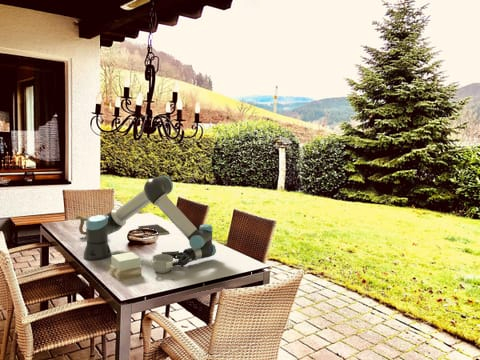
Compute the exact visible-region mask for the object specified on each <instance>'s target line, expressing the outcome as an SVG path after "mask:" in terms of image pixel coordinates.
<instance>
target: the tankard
mask: <svg viewBox="0 0 480 360" xmlns="http://www.w3.org/2000/svg"><path fill="white" fill-rule="evenodd" d="M90 217H91V216H89V217H86V218H85V217H83V216H81V215H77V216H75V219H76V220H80V221H79V222H80V223H79V227H78V231H79V233H80V235H83V236H84V238H85V239H86V238H87V228H86V229H85V231H84V230H83V228H84V224H85V225H86V224H87V219H88V218H90Z"/></svg>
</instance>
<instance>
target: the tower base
mask: <svg viewBox="0 0 480 360" xmlns="http://www.w3.org/2000/svg"><path fill="white" fill-rule="evenodd" d="M109 274H110V275H111V276H113V277H114V278H115V279H116V280H117V281H123V280H127V279H132V278H135V277H136V278H137V277H139V276H142V266H141V265H140V267H137V268H132V269H127V270H122V271H119V270H118V269H116V268H115V267H114V266H113V265H112V264H109Z"/></svg>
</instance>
